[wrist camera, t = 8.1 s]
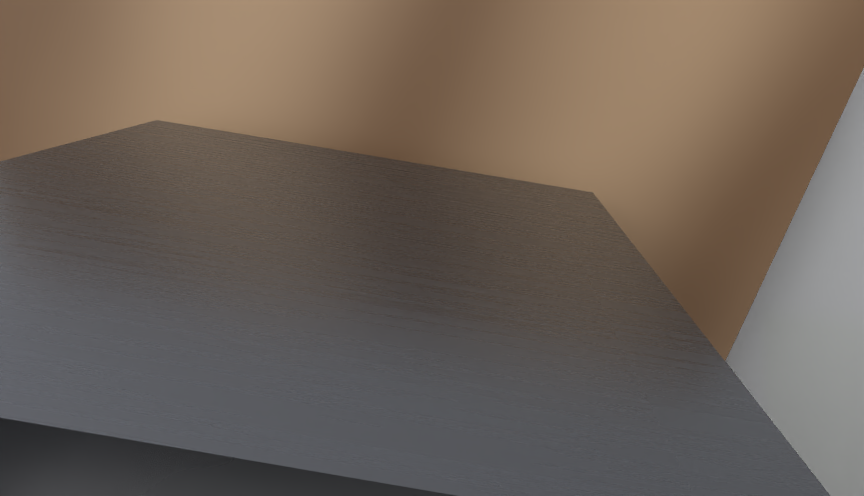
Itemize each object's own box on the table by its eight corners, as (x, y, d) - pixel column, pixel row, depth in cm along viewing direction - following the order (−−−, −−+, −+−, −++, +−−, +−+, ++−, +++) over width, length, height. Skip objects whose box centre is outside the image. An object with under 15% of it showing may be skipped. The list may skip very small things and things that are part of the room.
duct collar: (593, 192, 8) (887, 569, 2) (501, 502, 11) (535, 1006, 5) (157, 119, 8) (-588, 318, 2) (181, 447, 11) (-132, 890, 5)
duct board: (845, -15, 8) (1587, -115, 3) (597, 558, 13) (680, 891, 8) (-16, -153, 8) (-951, -517, 3) (94, 474, 14) (-142, 749, 8)
